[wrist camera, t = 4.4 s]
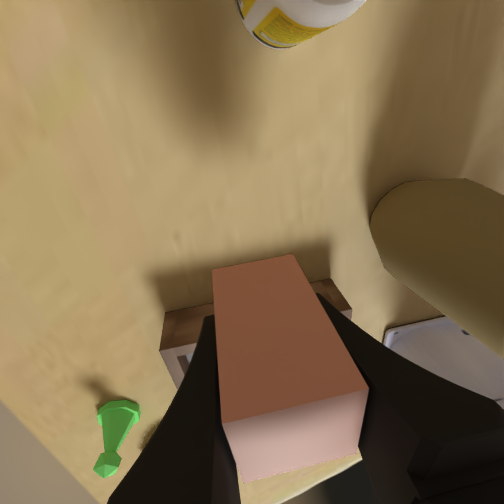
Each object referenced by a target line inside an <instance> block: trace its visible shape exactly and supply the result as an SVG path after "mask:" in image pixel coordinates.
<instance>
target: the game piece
mask: <svg viewBox="0 0 504 504" xmlns="http://www.w3.org/2000/svg"><path fill="white" fill-rule="evenodd" d="M97 418H98V421H99V425H102V428H103V438H104V449H105V453H101V454H100V456H99V458H98V460H97V462H96V464H95V466H94V468H93V470H94V471H95V472H96V473H97V474H98V475H99V476H101V477H103V478H106V477H108V476H111V475H113V474H115V472H116V471H117V469H118V467H119V464H120V461H121V459H122V458H121V457H120V456H119V455H118V454H117V453H116V452H117V450H118V449H119V447H120V445H121V444H122V442H123V440H124V439H125V437H126V435H127V434H128V432H129V430H130V429H131V427H132V425H133V424H135V423H136V422H138V421H139V419H140V407H139V405H138V404H135V403H133V402H131V401H128V400H118V401H109V402H108V403H106V404H105V405H104V406H102V407H101V408H99V411H98V414H97Z"/></svg>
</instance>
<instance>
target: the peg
mask: <svg viewBox="0 0 504 504" xmlns="http://www.w3.org/2000/svg"><path fill="white" fill-rule="evenodd" d="M212 281H213V297H214V312H215V327H216V343H217V358H218V373H219V389H220V404H221V419H222V426H223V429H224V431H225V434H226V437H227V440H228V442H229V445H230V448H231V451H232V454H233V456H234V459H235V462H236V465H237V467H238V470H239V473H240V476H241V478H242V481H243V483H246V482H250V481H254V480H258V479H262V478H266V477H269V476H273V475H277V474H281V473H285V472H289V471H292V470H296V469H300V468H304V467H308V466H312V465H316V464H319V463H323V462H327V461H331V460H335V459H339V458H342V457H346V456H350V455H354V454H356V452H357V447H358V442H359V437H360V432H361V427H362V422H363V417H364V412H365V407H366V402H367V396H368V391H369V387H368V386H367V384H366V382H365V380H364V379H363V377H362V375H361V373H360V372H359V370H358V368H357V366H356V365H355V363H354V361H353V359H352V357H351V356H350V354H349V352H348V350H347V349H346V347H345V345H344V343H343V342H342V340H341V338H340V336H339V335H338V333H337V331H336V329H335V328H334V326H333V324H332V322H331V321H330V319H329V317H328V315H327V314H326V312H325V310H324V308H323V306H322V305H321V303H320V301H319V299H318V298H317V296H316V294H315V292H314V291H313V289H312V287H311V285H310V284H309V282H308V280H307V278H306V277H305V275H304V273H303V271H302V270H301V268H300V266H299V264H298V263H297V261H296V259H295V257H294V255H293V254H290V255H285V256H280V257H275V258H269V259H264V260H259V261H254V262H249V263H244V264H239V265H234V266H229V267H223V268H218V269H213V270H212Z"/></svg>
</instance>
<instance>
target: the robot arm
mask: <svg viewBox="0 0 504 504" xmlns="http://www.w3.org/2000/svg"><path fill="white" fill-rule="evenodd" d="M315 294H316V296H317V298H318V299H319V301H320V303H321V305H322V306H323V308H324V310H325V312H326V314H327V315H328V317H329V319H330V321H331V322H332V324H333V326H334V328H335V329H336V331H337V333H338V335H339V336H340V338H341V340H342V342H343V343H344V345H345V347H346V349H347V350H348V352H349V354H350V356H351V357H352V359H353V361H354V363H355V365H356V366H357V368H358V370H359V372H360V373H361V375H362V377H363V379H364V380H365V382H366V384H367V386H368V387H369V391H368V396H367V402H366V407H365V412H364V417H363V422H362V427H361V432H360V437H359V442H358V448H359V450H360V453H361V456H362V459H363V461H364V464H365V467H366V469H367V472H368V475H369V478H370V481H371V484H372V487H373V490H374V492H375V495H376V498H377V501H378V504H504V359H502V358H501V357H500V356H498V355H497V354H496V353H494V352H493V351H492V350H490V349H489V348H488V347H486V346H485V345H484V344H482V343H481V342H480V341H478V340H477V339H476V338H474V337H473V336H472V335H470V334H469V333H468V332H466V331H465V330H464V329H462V328H461V327H460V326H459V325H457V324H456V323H455V322H453V321H452V320H451V319H449V318H448V317H447V316H445V317H441V318H436V319H432V320H427V321H423V322H418V323H414V324H409V325H405V326H401V327H396V328H392V329H389V330H387V331H386V334H385V338H384V343H383V344H382V343H380V342H379V341H377V340H376V339H374V338H373V337H372V336H370V335H369V334H368V333H366V332H365V331H363V330H362V329H361V328H360V327H358V326H357V325H356V324H354V323H353V322H352V321H351V320H349V319H348V318H347V317H346V316H345V315H343V314H342V313H341V312H340V311H339V310H338V309H336V308H335V307H334V306H333V305H332V304H331V303H330V302H329V301H327V300H326V299H325V298H324V297H323V296H322V295H321V294H320V293H315ZM107 504H241V500H240V493H239V485H238V477H237V468H236V462H235V459H234V456H233V454H232V451H231V448H230V445H229V442H228V440H227V437H226V434H225V431H224V429H223V426H222V419H221V404H220V389H219V373H218V358H217V343H216V327H215V314H214V315H209V316H205V317H204V318H203V323H202V327H201V331H200V335H199V338H198V341H197V344H196V347H195V350H194V353H193V356H192V358H191V361H190V364H189V366H188V368H187V371H186V373H185V376H184V378H183V380H182V382H181V384H180V387H179V389H178V391H177V393H176V395H175V397H174V399H173V401H172V403H171V405H170V406H169V408H168V410H167V412H166V414H165V415H164V417H163V419H162V421H161V422H160V424H159V426H158V427H157V429H156V431H155V432H154V434H153V435H152V437H151V439H150V440H149V442H148V443H147V445H146V446H145V448H144V449H143V451H142V452H141V454H140V456H139V457H138V459H137V460H136V461H135V463H134V464H133V466H132V467H131V468H130V470H129V471H128V473H127V474H126V475H125V477H124V478H123V479H122V481H121V482H120V484H119V485H118V486H117V488H116V489H115V490H114V492H113V493H112V494H111V496H110V497H109V500H108V502H107Z"/></svg>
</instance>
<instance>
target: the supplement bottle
mask: <svg viewBox="0 0 504 504" xmlns="http://www.w3.org/2000/svg"><path fill="white" fill-rule="evenodd" d="M365 2H366V0H236V5H237V9H238V12H239V15H240V17H241V20H242V22H243V24H244V26H245V27H246V29H247V30H248V32H249V33H250V34H251V35H252V36H253V37H254V38H255V39H256V40H257V41H258V42H260V43H261V44H263V45H265V46H267V47H269V48H273V49H287V48H290V47H293V46H296V45H298V44H300V43H302V42H304V41H305V40H307V39H309V38H311V37H313V36H315V35H317V34H319V33H321V32H323V31H325V30H327V29H329V28H331V27H333V26H335V25H337V24H339V23H340V22H342V21H344V20H346V19H347V18H349V17H350V16H351V15H352V14H353V13H355V12H356V11H357V10H358V9H359V8H360V7H361V6H362V5H363V4H364V3H365Z"/></svg>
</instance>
